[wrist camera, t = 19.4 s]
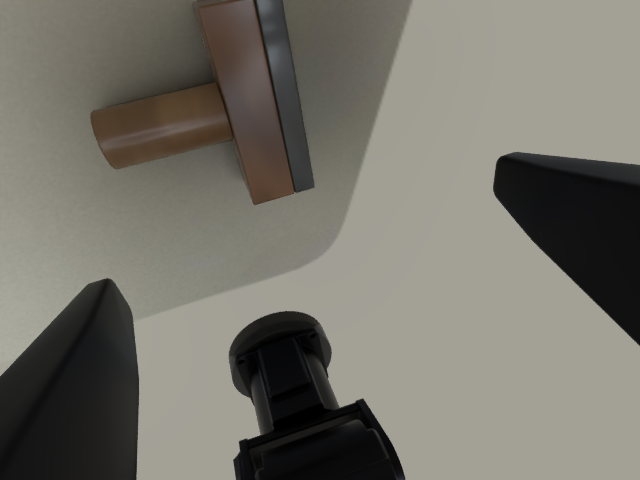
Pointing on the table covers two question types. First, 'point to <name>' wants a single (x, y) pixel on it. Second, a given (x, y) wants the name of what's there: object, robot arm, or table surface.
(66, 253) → the table surface
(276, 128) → the brush
